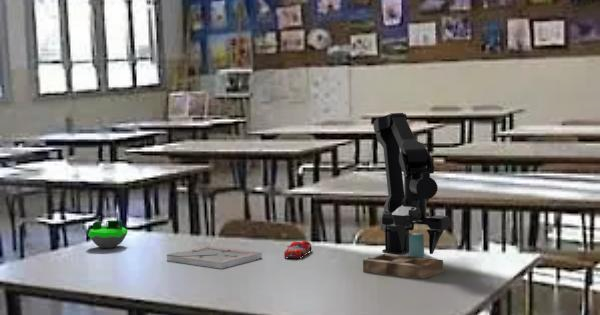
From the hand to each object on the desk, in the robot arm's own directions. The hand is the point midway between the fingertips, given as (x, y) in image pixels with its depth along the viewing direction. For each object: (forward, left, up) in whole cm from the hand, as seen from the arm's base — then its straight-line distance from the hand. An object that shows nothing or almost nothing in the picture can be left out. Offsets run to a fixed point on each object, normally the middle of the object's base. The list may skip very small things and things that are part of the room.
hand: (416, 252), depth 254 cm
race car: (-36, -6, -4) cm, 37 cm away
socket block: (+2, -10, -3) cm, 11 cm away
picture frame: (-53, -23, -4) cm, 58 cm away
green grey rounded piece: (-96, -26, -3) cm, 99 cm away
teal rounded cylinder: (0, 0, -3) cm, 3 cm away
